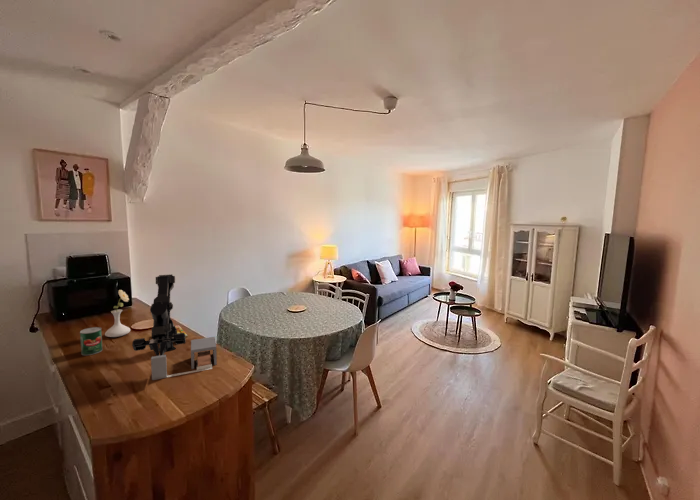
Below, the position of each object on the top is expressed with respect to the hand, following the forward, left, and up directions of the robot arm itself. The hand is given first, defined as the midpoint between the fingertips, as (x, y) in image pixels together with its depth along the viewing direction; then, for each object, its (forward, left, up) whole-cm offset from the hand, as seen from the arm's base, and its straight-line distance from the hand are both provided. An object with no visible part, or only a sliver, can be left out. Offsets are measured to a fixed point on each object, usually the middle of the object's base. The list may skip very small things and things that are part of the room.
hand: (159, 361), depth 123 cm
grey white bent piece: (+1, +9, -7) cm, 12 cm away
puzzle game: (-40, +20, -8) cm, 46 cm away
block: (+4, +16, -7) cm, 18 cm away
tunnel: (+1, +18, -8) cm, 20 cm away
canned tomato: (-51, -11, -8) cm, 53 cm away
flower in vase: (-67, +4, -8) cm, 68 cm away
